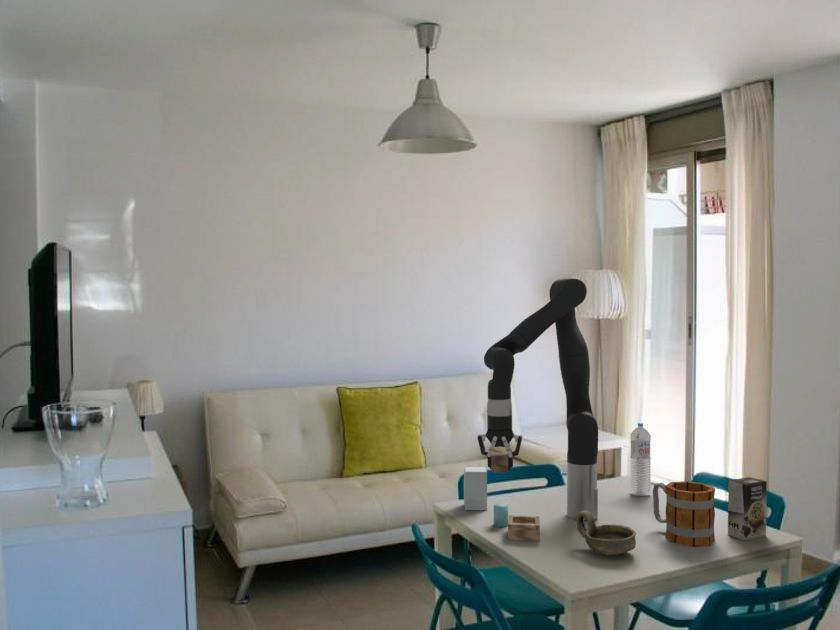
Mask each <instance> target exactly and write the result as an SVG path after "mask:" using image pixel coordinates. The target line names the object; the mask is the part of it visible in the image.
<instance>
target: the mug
mask: <svg viewBox="0 0 840 630" xmlns="http://www.w3.org/2000/svg"><path fill="white" fill-rule="evenodd" d="M659 488H661V489H662V490H663V492H664V493H665V495H666V501H665V502H666V503H665V518H662V517H661V514H660V499H659ZM715 492H716V487H713V486H711V485H709V484H707V483H703V482H694V481H689V480H684V481H683V480H682V481H670V482H668V483H667V484H665V483H664V482H659V483H655V484H654V485H653V488H652V500H653V501H652V503H653V504H652V505H653V506H652V507H653V516H654V518H655V520H656V521H657V522H658V523H660V524H666V526H665V527H666V531H665V535H664V536H665V537H664V538H665V539H667V540H668V541H670V542H671V543H673V544H675V545H681V546H687V547H690V548H691V547H692V548H698V547H710V546H712V545H713V544H714V543H715V541H716V537H715V518H716V511H715Z"/></svg>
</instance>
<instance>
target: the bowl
mask: <svg viewBox="0 0 840 630" xmlns="http://www.w3.org/2000/svg"><path fill="white" fill-rule="evenodd" d="M584 517H585V518H586V520H583V518H584ZM585 521H587V528H586V526H585ZM575 525H576V528H577V530H578V532H579V534H580V535H581V536H582V537H583V538H584V539H585V542H586V544H587V546H588V548H590V550H592V551H593V552H595V553H597V554H600V555H604V556H619V555H622V554H625V553H627V552H630V551H632V550H634V549H635V548H636V545H637V541H636V534H637V532H636V531H635V530H634V529H633V528H631V527H630V526H627V525H623V524H616V523H615V524H614V523H611V524H601V525H596V522H595V519H594V518H593V516H592V514H591V513H590V512H589V511H586V510H585V511H581V512H579V513H578V514H577V516H576V519H575Z"/></svg>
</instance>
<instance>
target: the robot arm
mask: <svg viewBox="0 0 840 630" xmlns="http://www.w3.org/2000/svg"><path fill="white" fill-rule="evenodd" d="M587 294H588V290H587V285H586V283H585V282H584V281H583V280H581V279H580V278H576V277H567V278H559V279H557V280H555V281H554V282H552V283H551V285H550V288H549V301H548V302H547V303H545V305H543V306H542V307H541V308H539V309H538V310H537V311H535V312H534V313H532V314H531V315H529V316H527V317H526V318H525V319H523V320H522V321H521V322H519V324H518V325H516V327H514V328H513V329H512V330H511V331H510V332H509V333H508V334H507V335H506V336H504V337H502V338H501V339H499V340H498V341H497V342H495V343H494V344H493V345H491V346H490V347H489V348H488V349H487V350H486V352H485V353H484V357H483V361H484V362H483V363H484V365H485V366H486V367H487V368H488V370H489V369H490V370H493V371H492V379H490V380H488V383H487V403H486V404H487V405H486V406H487V407H486V415H487V416H486V417H487V419H486V420H487V423H486V425H487V426H486V427H487V428H486V429H487V430H486V433H484V434H478V435H477V436H476V437H477V442H478V446H479V449H480V453H481V455H482V456H486V459H487V468H489V469H490V470H491V455H492V452H494V448H498V447H501V448H504V449H505V452H507V453H508V456H509V457H508V470H509V471H511V469H512V468H513V467H514V457H516V456H518V455H519V454H520V449H521V447H522V446H521V444H522V440H523V435H522V434H519V435H518V434H515V433H514V431H513V404H512V387H511V385H512V382H513V381H512V380H513V377H514V371H515V365H516V364H515V357H514V356H516V354H519V353H523V352H525V351H526V350H527V349H528V348H529V347H530V346H532V344H533V343H535V341H536V340H537V339H538V338H539V337H540V336H542V334H544V332H546V331H547V330H548V329H549V328H551V327H552V325H554V324H555V333H556V341H557V351H558V361H559V369H560V374H561V380H562V384H563V387H564V391H565V392H564V394H565V399H566V424H565V425H566V429H567V452H566V453H567V454H566V516H567V517H568V518H570V519H573V520H576V516H577V514H578V513H579V512H581V511H585V510H586V511H589V512H590V513H591V514H592V516H593V518H594V520H598V518H599V515H598V514H599V511H598V510H599V507H598V505H599V504H598V503H599V502H598V501H599V499H598V498H599V497H598V496H599V493H598V492H599V489H598V454H599V425H598V422H597V419H596V418H595V415H594V414H593V409H592V404H591V400H590V399H591V398H590V380H591V379H590V378H591V370H590V369H591V365H590V356H589V349H588V345H587V343H586V339H585V338H584V336H583V334H582V332H581V330H580V328H579V325H578V322H577V317H576V310H575V309H576V308H577V307H578V306H580V305H581V304H582V303H583V302H584V301H585V300H586V297H587ZM486 439H487V440H488V441H489V443H490V446H489V449H488V450H486V447H485V441H486ZM513 439H514V442H515V443H516V446H515V450H512V447H511V445H510V444H511V442H512V440H513ZM583 521H587V520H586V518H585V517H584V518H583Z"/></svg>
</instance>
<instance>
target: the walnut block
mask: <svg viewBox="0 0 840 630" xmlns="http://www.w3.org/2000/svg"><path fill="white" fill-rule="evenodd" d="M508 457H509V456H508V453H507V451H505V452H503V451H502V452H501V451H499V452H498V451H493V452H492V455H491V469H490V471H491V473H509V471H510V470H508Z"/></svg>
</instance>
